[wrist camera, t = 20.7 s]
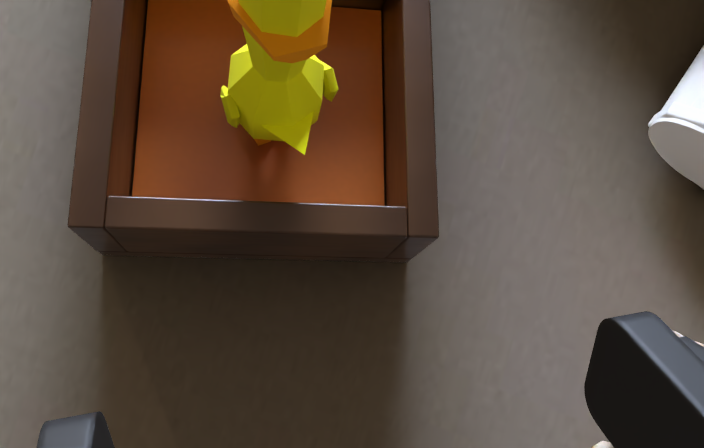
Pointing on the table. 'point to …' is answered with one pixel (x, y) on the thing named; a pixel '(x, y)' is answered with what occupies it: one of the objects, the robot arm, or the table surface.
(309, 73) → the toy figure
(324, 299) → the table surface
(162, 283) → the table surface
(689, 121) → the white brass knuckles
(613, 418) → the robot arm
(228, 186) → the divided wooden tray
